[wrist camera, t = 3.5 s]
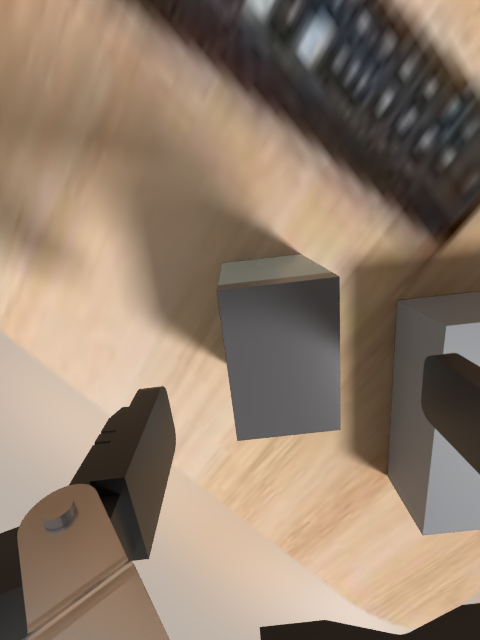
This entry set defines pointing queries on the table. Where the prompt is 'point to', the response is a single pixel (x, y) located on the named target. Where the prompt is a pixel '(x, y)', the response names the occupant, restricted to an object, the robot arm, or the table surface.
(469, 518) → the stand
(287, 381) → the block
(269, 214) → the table surface
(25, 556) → the robot arm
